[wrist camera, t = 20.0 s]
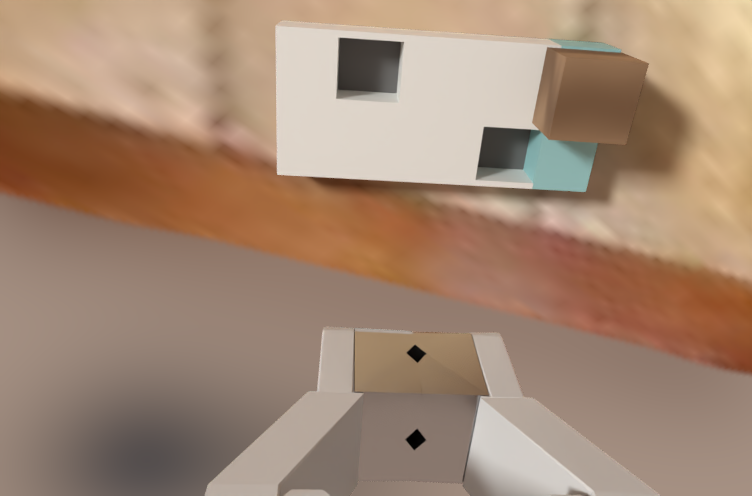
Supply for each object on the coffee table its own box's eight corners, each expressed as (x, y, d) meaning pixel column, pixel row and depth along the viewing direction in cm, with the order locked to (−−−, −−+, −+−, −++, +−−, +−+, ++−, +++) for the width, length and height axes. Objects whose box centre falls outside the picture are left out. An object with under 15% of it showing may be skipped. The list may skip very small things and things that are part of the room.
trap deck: (281, 20, 32) (275, 25, 29) (603, 43, 33) (621, 49, 30) (282, 160, 35) (277, 174, 33) (571, 176, 36) (585, 192, 34)
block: (547, 47, 30) (566, 57, 27) (621, 52, 30) (648, 63, 28) (531, 122, 32) (548, 139, 29) (602, 127, 32) (626, 144, 29)
